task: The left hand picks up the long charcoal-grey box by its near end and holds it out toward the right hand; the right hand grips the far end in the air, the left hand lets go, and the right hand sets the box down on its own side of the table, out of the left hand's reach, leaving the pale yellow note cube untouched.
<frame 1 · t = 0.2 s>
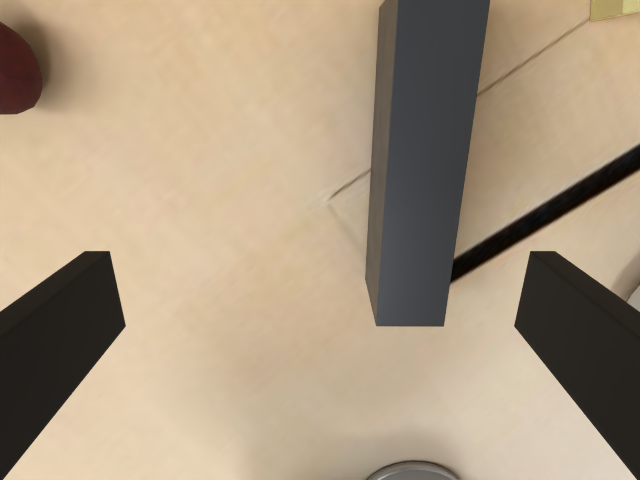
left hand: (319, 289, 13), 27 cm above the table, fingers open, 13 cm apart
long box: (402, 160, 38), on the table
maroon ball: (19, 69, 35), on the table
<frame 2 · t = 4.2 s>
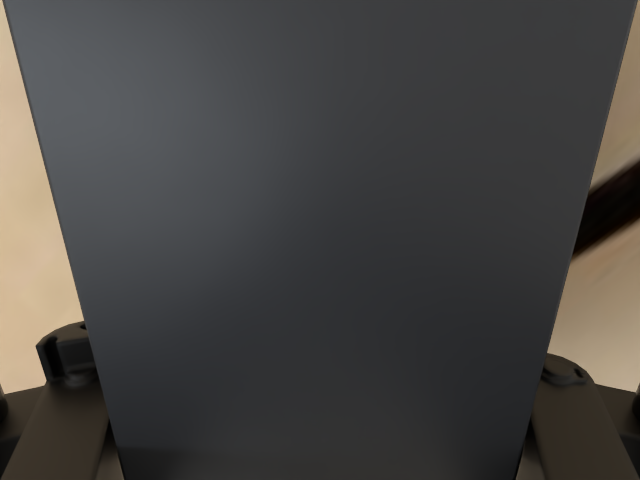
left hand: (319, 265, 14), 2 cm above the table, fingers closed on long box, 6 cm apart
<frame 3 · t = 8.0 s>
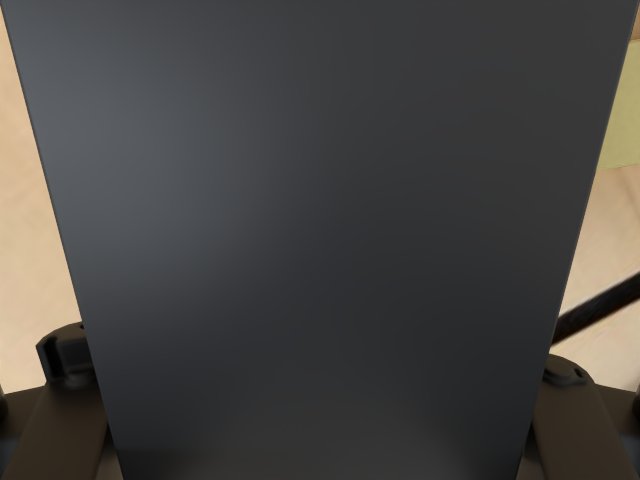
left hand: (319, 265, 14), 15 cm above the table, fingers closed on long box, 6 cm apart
note cube: (593, 103, 26), on the table
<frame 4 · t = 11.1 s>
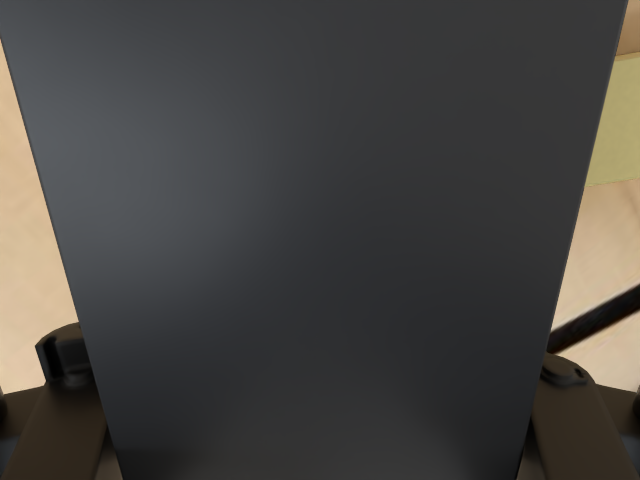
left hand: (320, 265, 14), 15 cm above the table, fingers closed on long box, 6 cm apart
note cube: (598, 114, 26), on the table
when the left hand's fingers open (15 cm above the table, at t = 12.0 s): long box stays where it is, held by the right hand.
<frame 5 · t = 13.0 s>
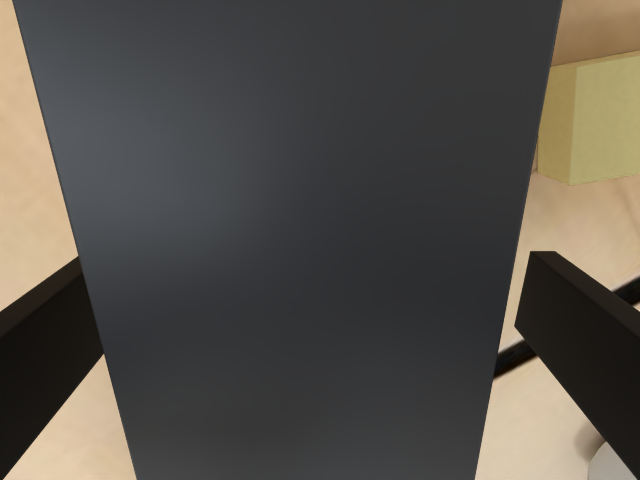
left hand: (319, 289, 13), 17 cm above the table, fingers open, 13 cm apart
note cube: (590, 113, 27), on the table
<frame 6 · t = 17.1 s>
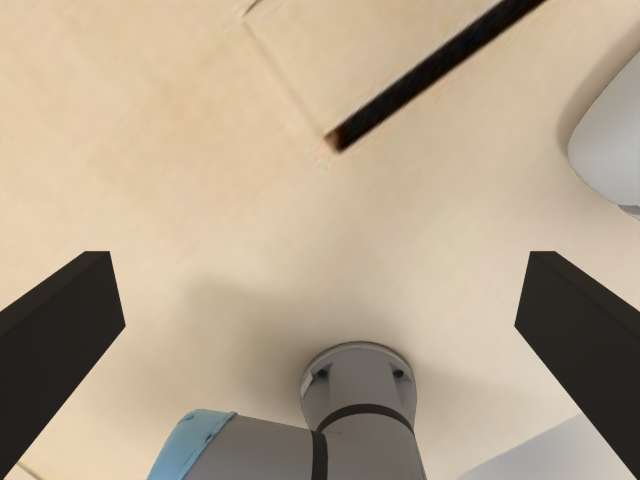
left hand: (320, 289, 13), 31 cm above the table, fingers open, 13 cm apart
when the right hand's fingers open (1 cm above the table, at t = 23.4 s): long box stays where it is, on the table.
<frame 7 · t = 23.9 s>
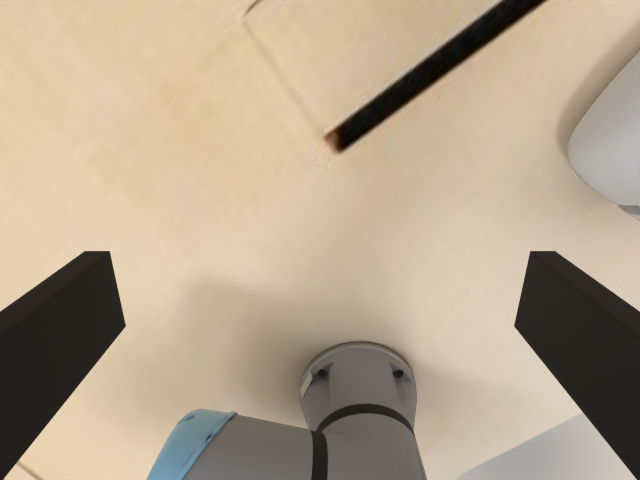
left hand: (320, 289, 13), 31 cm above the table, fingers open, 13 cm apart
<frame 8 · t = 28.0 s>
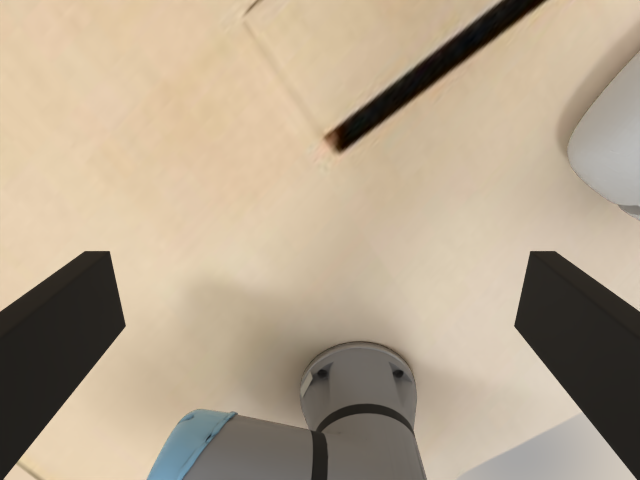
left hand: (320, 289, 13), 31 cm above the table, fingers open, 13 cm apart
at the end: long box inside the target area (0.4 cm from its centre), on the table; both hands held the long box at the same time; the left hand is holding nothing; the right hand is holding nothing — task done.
